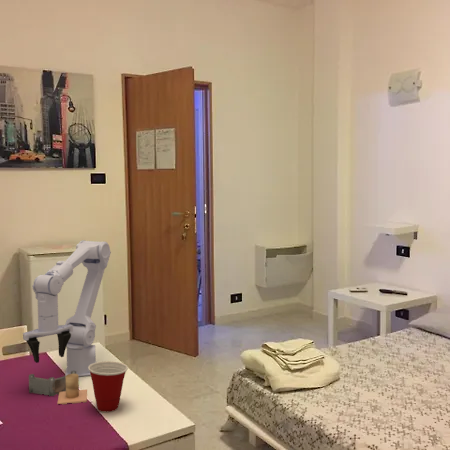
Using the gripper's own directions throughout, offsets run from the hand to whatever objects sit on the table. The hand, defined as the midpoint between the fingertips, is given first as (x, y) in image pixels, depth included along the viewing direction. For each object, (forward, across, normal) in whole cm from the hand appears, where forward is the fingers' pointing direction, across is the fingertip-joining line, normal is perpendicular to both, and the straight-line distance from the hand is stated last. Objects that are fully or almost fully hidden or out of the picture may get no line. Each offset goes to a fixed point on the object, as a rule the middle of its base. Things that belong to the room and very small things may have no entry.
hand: (49, 358), depth 158 cm
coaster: (+9, -3, +10) cm, 14 cm away
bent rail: (+9, 0, +3) cm, 10 cm away
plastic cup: (+10, -8, +23) cm, 26 cm away
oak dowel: (+9, -3, +10) cm, 14 cm away
